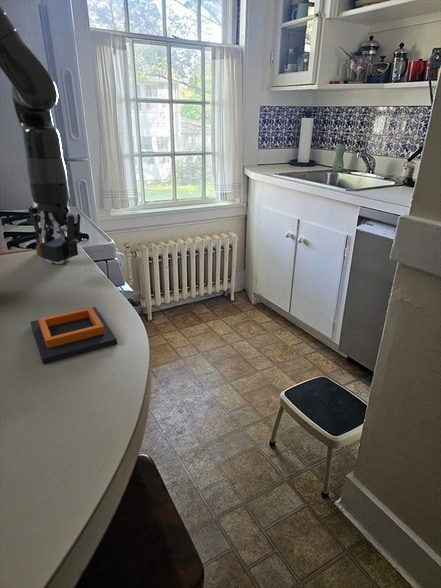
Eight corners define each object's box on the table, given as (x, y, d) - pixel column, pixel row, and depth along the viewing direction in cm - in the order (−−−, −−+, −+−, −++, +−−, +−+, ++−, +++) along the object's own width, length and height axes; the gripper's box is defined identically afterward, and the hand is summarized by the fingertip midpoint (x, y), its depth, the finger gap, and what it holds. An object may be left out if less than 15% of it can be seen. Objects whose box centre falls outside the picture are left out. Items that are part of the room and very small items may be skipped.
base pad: (43, 364, 62) (40, 351, 61) (31, 326, 73) (28, 314, 72) (117, 343, 68) (115, 331, 67) (96, 311, 78) (94, 300, 77)
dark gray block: (57, 262, 87) (55, 247, 85) (42, 258, 89) (39, 243, 87) (78, 254, 92) (76, 240, 90) (63, 251, 94) (61, 237, 92)
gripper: (10, 178, 83) (25, 254, 90) (57, 185, 77) (70, 266, 84) (40, 174, 89) (52, 245, 96) (86, 180, 83) (95, 256, 90)
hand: (60, 254), depth 90 cm, fingers closed on dark gray block, 5 cm apart
